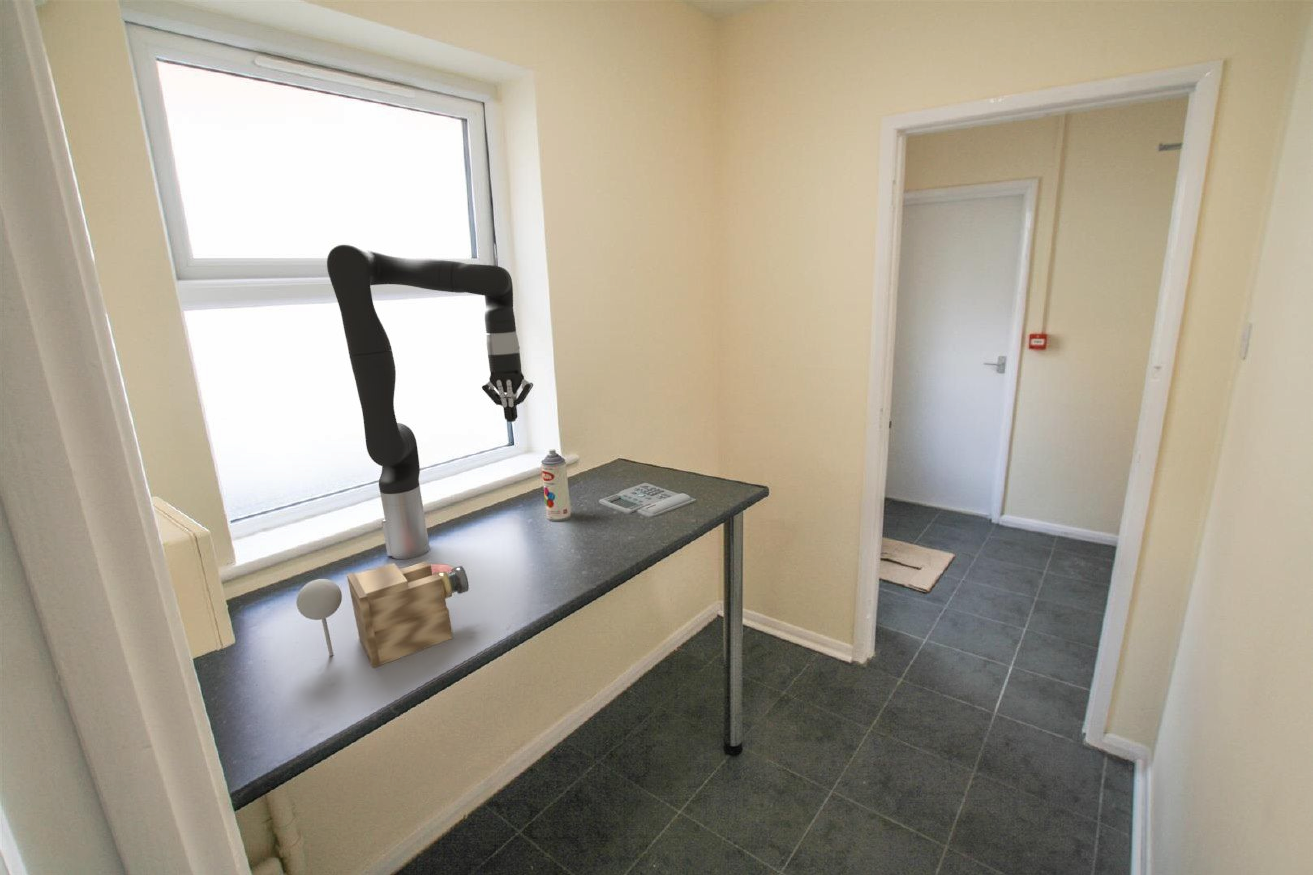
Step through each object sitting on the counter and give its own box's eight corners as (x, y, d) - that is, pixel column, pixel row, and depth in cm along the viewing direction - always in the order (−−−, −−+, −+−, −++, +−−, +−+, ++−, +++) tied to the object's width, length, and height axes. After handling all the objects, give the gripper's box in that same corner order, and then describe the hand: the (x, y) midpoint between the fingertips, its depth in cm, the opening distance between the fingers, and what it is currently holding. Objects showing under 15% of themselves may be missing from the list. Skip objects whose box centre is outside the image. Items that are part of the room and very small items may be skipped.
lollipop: (359, 642, 115) (345, 570, 111) (341, 665, 108) (325, 589, 105) (321, 645, 115) (306, 573, 111) (301, 668, 108) (284, 592, 104)
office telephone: (696, 494, 179) (646, 514, 166) (696, 503, 180) (646, 523, 167) (645, 478, 196) (595, 495, 183) (645, 486, 197) (596, 503, 184)
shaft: (376, 627, 110) (371, 601, 108) (370, 615, 114) (365, 590, 112) (470, 595, 119) (466, 571, 118) (461, 585, 123) (457, 562, 122)
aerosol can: (542, 518, 173) (534, 450, 168) (561, 511, 178) (555, 445, 173) (556, 523, 168) (549, 454, 163) (575, 516, 173) (569, 449, 168)
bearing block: (373, 667, 107) (359, 598, 104) (359, 638, 116) (346, 574, 113) (453, 637, 115) (442, 572, 112) (434, 612, 124) (424, 551, 121)
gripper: (471, 354, 144) (480, 425, 148) (524, 352, 142) (531, 424, 146) (484, 350, 151) (492, 418, 155) (535, 348, 149) (542, 417, 153)
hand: (511, 421), depth 151 cm, fingers closed
